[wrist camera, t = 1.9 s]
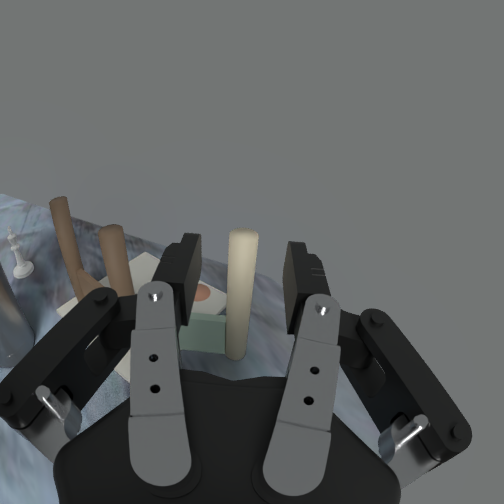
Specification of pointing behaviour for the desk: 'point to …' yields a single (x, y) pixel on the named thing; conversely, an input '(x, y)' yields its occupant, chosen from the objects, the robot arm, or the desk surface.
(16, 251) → the chess piece
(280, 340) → the desk surface
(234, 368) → the desk surface
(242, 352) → the l-shaped bracket
